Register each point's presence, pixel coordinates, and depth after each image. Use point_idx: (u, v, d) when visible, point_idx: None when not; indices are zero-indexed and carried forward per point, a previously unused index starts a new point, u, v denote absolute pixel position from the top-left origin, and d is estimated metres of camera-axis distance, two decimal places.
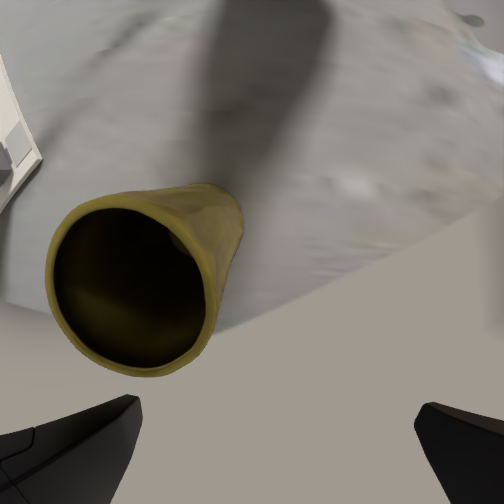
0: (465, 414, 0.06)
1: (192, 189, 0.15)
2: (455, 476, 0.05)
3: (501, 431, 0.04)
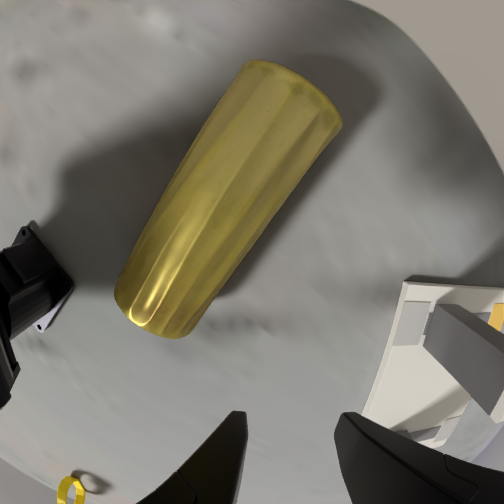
0: (381, 432, 0.06)
1: None
2: (366, 502, 0.05)
3: (414, 461, 0.04)
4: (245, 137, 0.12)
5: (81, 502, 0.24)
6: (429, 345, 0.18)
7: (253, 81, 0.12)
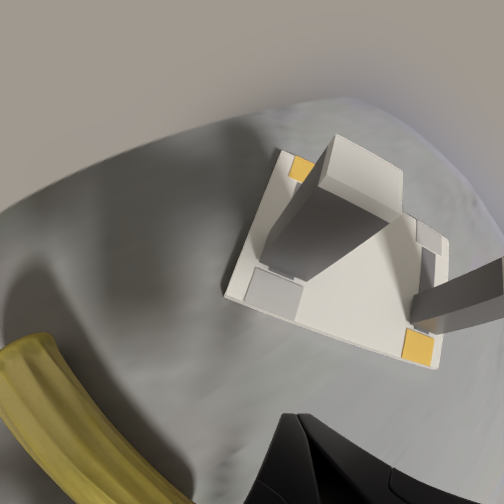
0: (329, 437, 0.06)
1: None
2: None
3: (353, 473, 0.04)
4: (29, 424, 0.09)
5: None
6: (304, 276, 0.19)
7: None
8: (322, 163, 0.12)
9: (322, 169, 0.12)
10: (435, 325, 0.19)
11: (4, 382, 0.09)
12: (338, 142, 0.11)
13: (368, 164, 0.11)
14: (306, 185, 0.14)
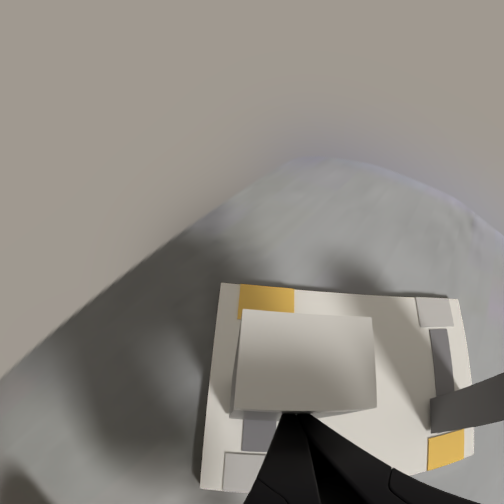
0: (329, 437, 0.06)
1: None
2: None
3: (353, 473, 0.04)
4: None
5: None
6: None
7: None
8: (237, 357, 0.08)
9: (235, 377, 0.07)
10: None
11: None
12: (248, 326, 0.07)
13: (308, 344, 0.07)
14: (235, 369, 0.09)
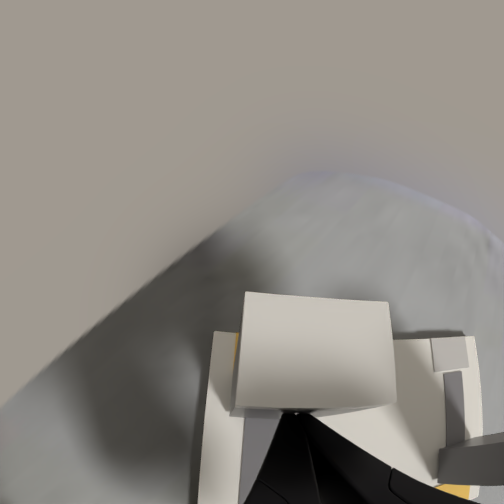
0: (329, 437, 0.06)
1: None
2: None
3: (353, 473, 0.04)
4: None
5: None
6: None
7: None
8: (239, 348, 0.07)
9: (237, 370, 0.06)
10: None
11: None
12: (252, 312, 0.06)
13: (320, 332, 0.06)
14: (236, 362, 0.08)
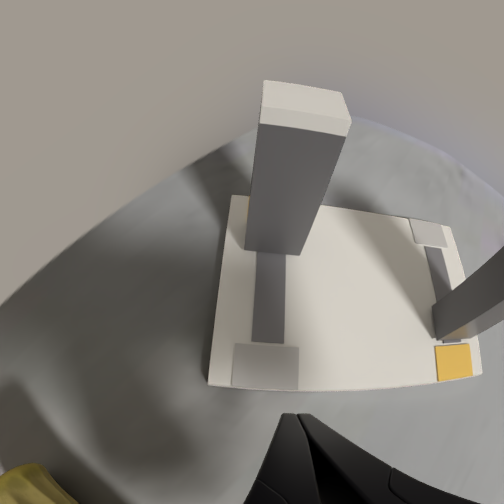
0: (329, 438, 0.06)
1: None
2: None
3: (353, 473, 0.04)
4: None
5: None
6: (295, 248, 0.18)
7: None
8: (260, 109, 0.12)
9: (260, 110, 0.11)
10: (466, 331, 0.15)
11: None
12: (268, 84, 0.11)
13: (303, 92, 0.11)
14: (256, 141, 0.13)
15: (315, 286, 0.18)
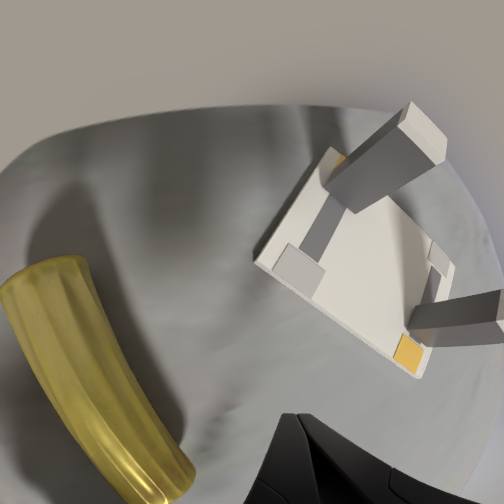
0: (329, 437, 0.06)
1: None
2: None
3: (353, 473, 0.04)
4: (48, 342, 0.11)
5: None
6: (356, 207, 0.23)
7: (12, 305, 0.11)
8: (399, 116, 0.15)
9: (400, 118, 0.15)
10: (428, 337, 0.21)
11: (33, 296, 0.11)
12: (412, 106, 0.15)
13: (428, 125, 0.15)
14: (382, 130, 0.17)
15: (354, 240, 0.23)
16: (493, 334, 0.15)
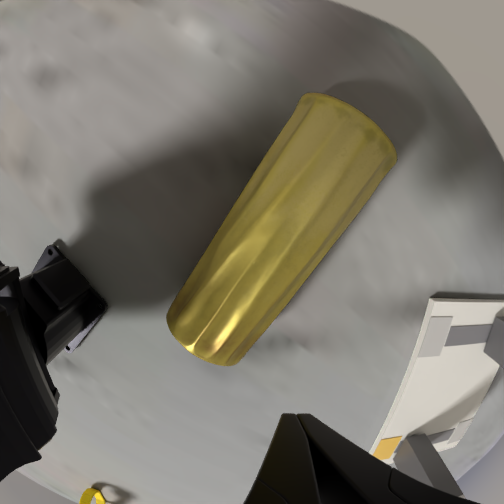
0: (330, 437, 0.06)
1: None
2: None
3: (353, 473, 0.04)
4: (321, 181, 0.12)
5: None
6: (489, 350, 0.19)
7: (326, 120, 0.12)
8: None
9: None
10: (405, 457, 0.20)
11: (355, 143, 0.12)
12: None
13: None
14: None
15: (465, 361, 0.20)
16: None
